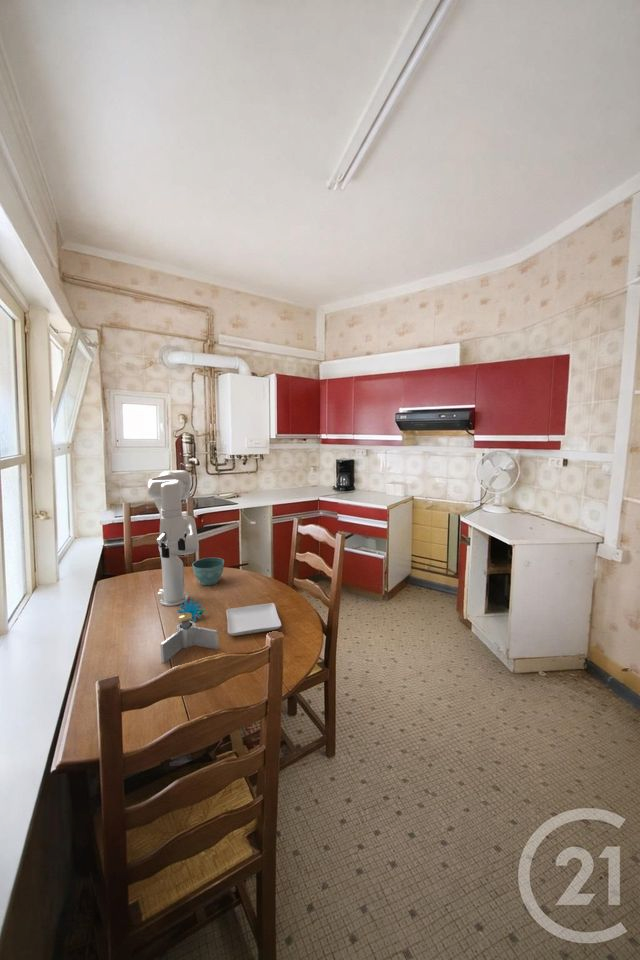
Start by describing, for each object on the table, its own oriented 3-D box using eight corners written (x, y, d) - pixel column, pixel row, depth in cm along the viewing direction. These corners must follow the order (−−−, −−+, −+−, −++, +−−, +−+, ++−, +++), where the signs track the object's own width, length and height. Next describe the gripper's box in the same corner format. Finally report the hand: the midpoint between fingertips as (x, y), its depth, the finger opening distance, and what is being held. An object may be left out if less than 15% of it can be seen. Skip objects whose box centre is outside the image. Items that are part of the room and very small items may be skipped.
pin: (177, 645, 142) (175, 617, 141) (185, 638, 147) (183, 611, 145) (187, 647, 141) (186, 619, 139) (195, 640, 145) (194, 613, 144)
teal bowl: (212, 590, 192) (211, 569, 190) (186, 585, 197) (185, 565, 196) (230, 578, 207) (230, 559, 205) (206, 574, 212) (205, 556, 211)
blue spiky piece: (176, 622, 156) (179, 598, 162) (176, 626, 161) (179, 603, 167) (204, 622, 160) (206, 598, 166) (203, 626, 164) (205, 603, 170)
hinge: (154, 661, 133) (153, 642, 132) (185, 636, 148) (184, 620, 147) (195, 670, 128) (194, 650, 127) (222, 644, 143) (221, 626, 142)
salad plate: (228, 641, 146) (227, 632, 145) (226, 615, 166) (226, 608, 166) (282, 633, 152) (282, 625, 151) (274, 609, 172) (274, 602, 171)
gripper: (178, 508, 162) (180, 546, 164) (148, 516, 145) (151, 559, 148) (193, 509, 159) (194, 548, 162) (164, 518, 143) (167, 561, 145)
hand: (174, 553), depth 155 cm, fingers open, 9 cm apart
